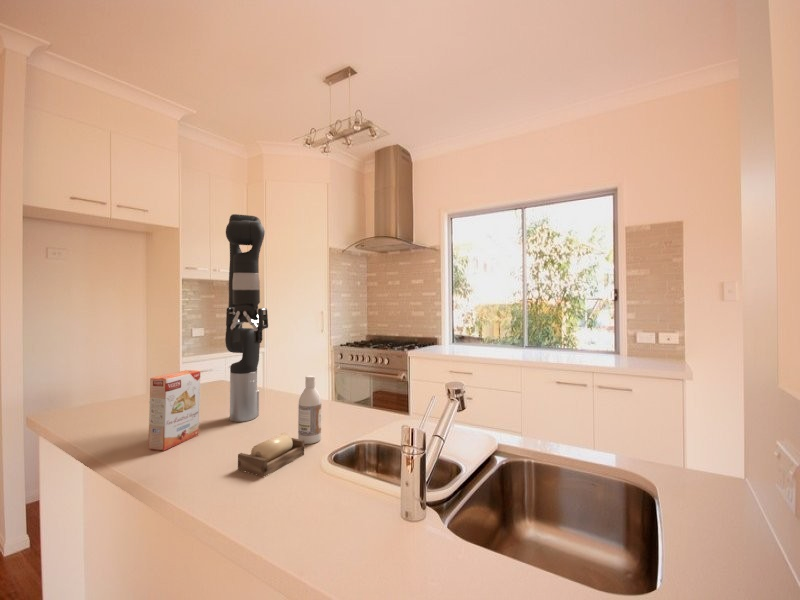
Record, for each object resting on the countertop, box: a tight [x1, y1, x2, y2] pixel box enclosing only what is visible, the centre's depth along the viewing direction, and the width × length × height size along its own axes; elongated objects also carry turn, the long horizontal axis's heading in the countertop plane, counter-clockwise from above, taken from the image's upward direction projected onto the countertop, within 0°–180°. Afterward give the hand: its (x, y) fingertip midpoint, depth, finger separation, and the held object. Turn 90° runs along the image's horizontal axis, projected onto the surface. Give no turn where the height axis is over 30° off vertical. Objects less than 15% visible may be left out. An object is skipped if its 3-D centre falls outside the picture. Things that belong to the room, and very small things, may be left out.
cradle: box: [237, 437, 305, 477], centre depth 101 cm, size 15×9×4 cm, turn 155°
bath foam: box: [297, 375, 322, 445], centre depth 116 cm, size 7×7×20 cm
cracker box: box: [148, 369, 201, 452], centre depth 114 cm, size 14×6×21 cm, turn 168°
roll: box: [250, 432, 293, 463], centre depth 101 cm, size 10×5×5 cm, turn 156°
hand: (247, 342), depth 112 cm, fingers open, 8 cm apart
